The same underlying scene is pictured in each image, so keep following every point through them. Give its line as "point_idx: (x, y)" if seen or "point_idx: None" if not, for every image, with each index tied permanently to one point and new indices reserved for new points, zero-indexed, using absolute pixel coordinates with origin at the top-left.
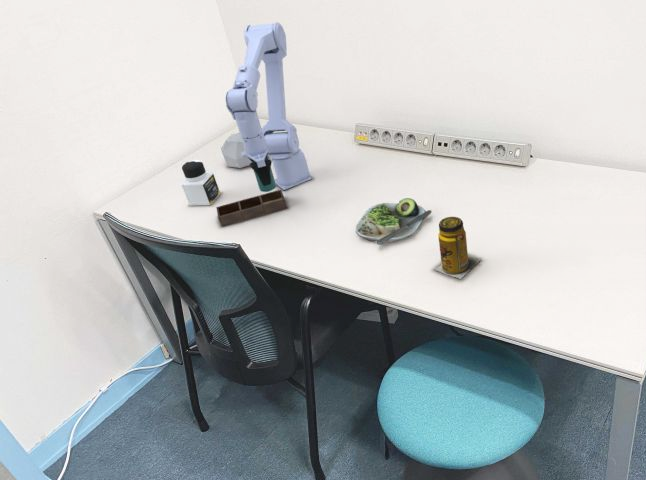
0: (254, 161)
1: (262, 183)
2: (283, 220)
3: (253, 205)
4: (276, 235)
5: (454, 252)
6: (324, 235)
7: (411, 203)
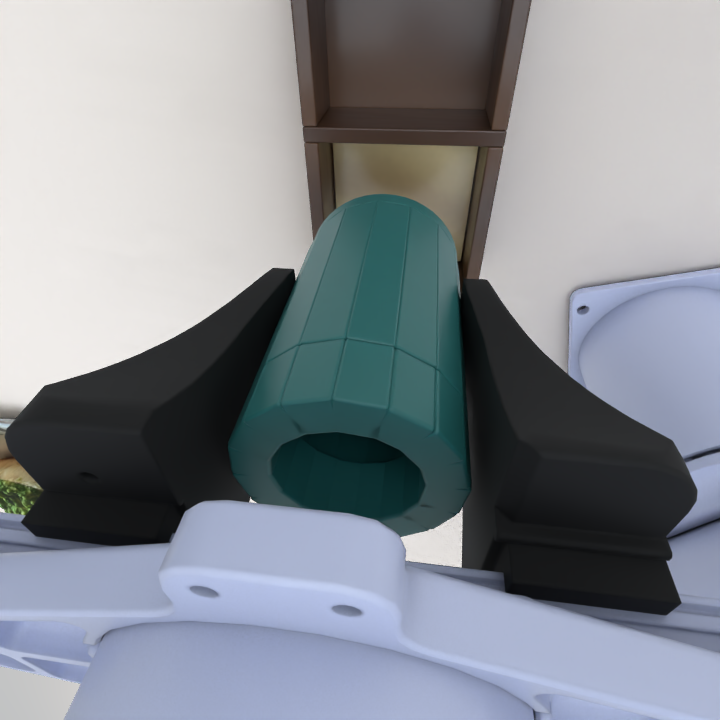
0: (398, 442)
1: (255, 281)
2: (199, 207)
3: (496, 33)
4: (28, 132)
5: None
6: (24, 332)
7: None
